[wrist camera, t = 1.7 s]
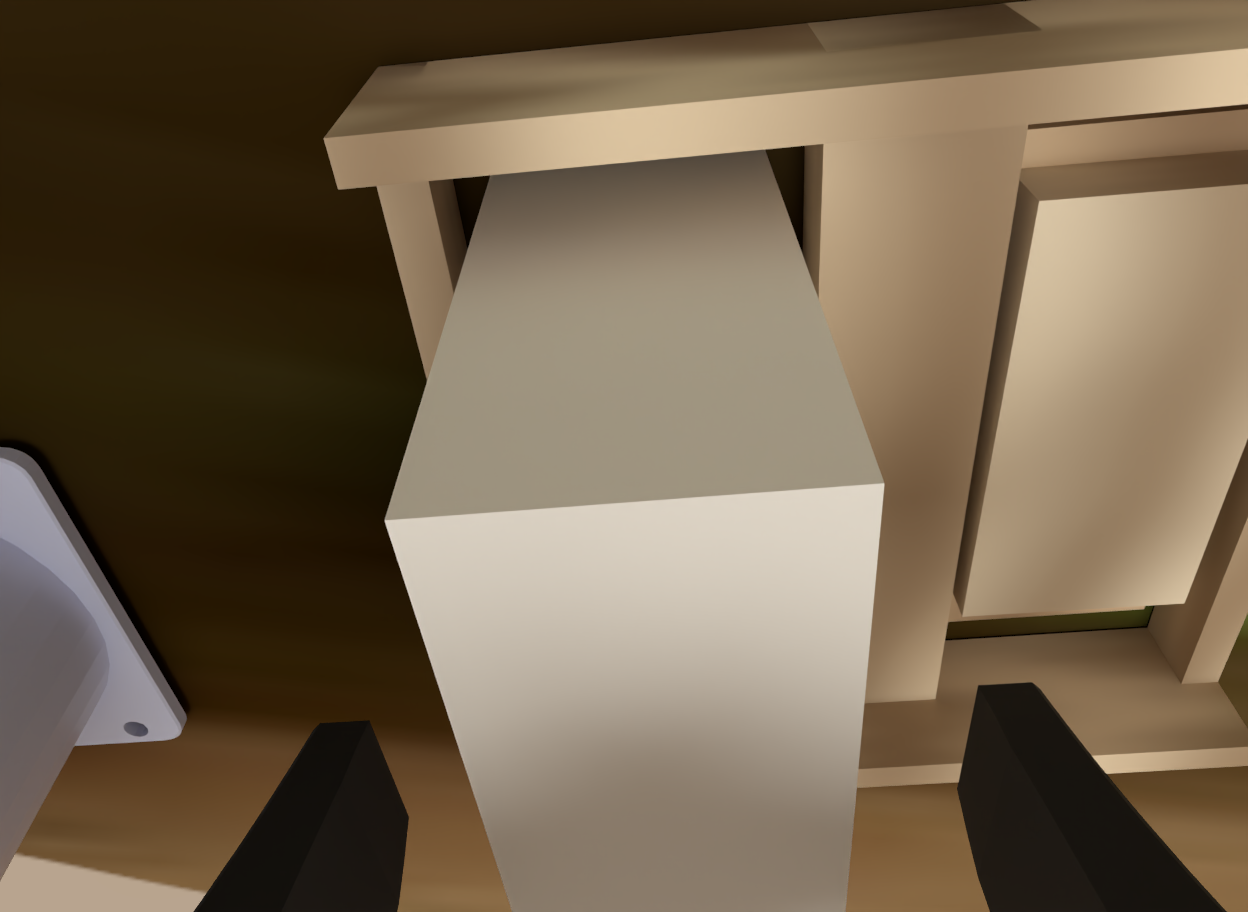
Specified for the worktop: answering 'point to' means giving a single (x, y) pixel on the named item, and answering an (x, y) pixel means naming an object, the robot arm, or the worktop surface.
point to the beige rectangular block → (646, 543)
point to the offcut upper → (1111, 386)
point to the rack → (873, 292)
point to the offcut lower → (1125, 142)
